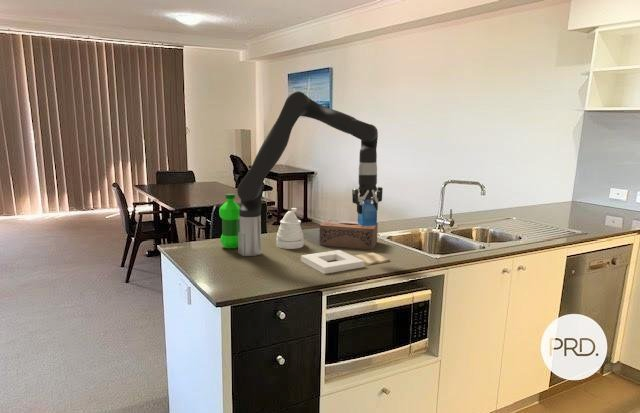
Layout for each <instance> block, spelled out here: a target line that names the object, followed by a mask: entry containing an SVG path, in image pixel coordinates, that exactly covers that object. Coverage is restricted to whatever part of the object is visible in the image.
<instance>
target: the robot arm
mask: <svg viewBox="0 0 640 413" xmlns="http://www.w3.org/2000/svg"><path fill="white" fill-rule="evenodd" d="M300 117H306V118H310V119H313V120H316V121H318V122H321V123H323V124H326V125H327V126H329V127H332V128H334V129H336V130H338V131H340V132H343V133H345V134H348V135H351V136H352V137H354V138H356V139H359V140H360V149H359V160H358V161H359V164H358V188H352V189H351V190H352V204H355V205H356V212H357V215H358V214H362V203H364V200H365V198H367V197H368V196H371V199H372V201H371V202H372V204H374V206H375V208H376V210H377V211H378V210H379V203H380V202H382V201H383V187H382V186H377V184H378V163H377V157H378V156H377V155H378V153H377V147H378V140H379V139H378V137H379V134H378V132H379V131H378V129H377V127H376V126H375V125H374V124H370V123H367V122H364V121H362V120H359V119H357V118H355V117H354V116H352V115H349V114H346V113H344V112H341V111H339V110H335V109H333V108H329V107H326V106H324V105H321V104H319V103H317V102H316V101H315V100H312V99H311V98H309V97H308V95H307V94H305V93H304V92H303V91H297V90H296V91H293V92H291V93H290V94H289V95H288V96H287V97H286V99H285V102H284V104H283V106H282V109H281V111H280V113H279V114H278V118H277V119H276V120H275V123H274V124H273V126H272V127H271V129H270V131H269V132H268V134H267V135H266V137H265V139H264V141H263V142H262V144H261V146H260V148H259V150H258V152H257V154H256V155H255V158H254V160H253V163H252V164H251V166H250V169H249V170H248V171H247V173H246V175H244V177H243V179H242V180H241V181H240V183H239V184H238V186H237V195H238V198H239V199H240V205H239V206H240V209H239V230H240V232H238V247H237V248H238V249H237V250H238V254H239V255H241V257H255V256H259V255H261V254H262V242H261V241H262V238H261V236H262V228H261V227H262V226H261V222H262V220H261V216H262V214H261V212H262V201H263V200H262V195H263V194H262V191H263V189H262V185H263V183H264V181H265V178H266V177H267V175H268V174H269V173H270V172H271V170H272V169H273V168H274V167H275V166H276V164H277V163H278V162H279V160H280V159H281V157H282V155H283V154H284V152H285V150H286V148H287V146H288V143H289V140H290V136H291V133H292V130H293V128H294V126H295V124H296V122H297V121H298V120H299V118H300Z"/></svg>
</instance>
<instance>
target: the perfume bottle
mask: <svg viewBox="0 0 640 413" xmlns="http://www.w3.org/2000/svg"><path fill="white" fill-rule="evenodd" d="M372 202H373V201H372V199H371V196H368V197H367V198H365V200H364V201H363V203H362V214H358V213H357V222H358V224H360V225H361V226H375V225H377V223H378V210H376V208H375V206H374V204H373V203H372Z"/></svg>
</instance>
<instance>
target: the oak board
mask: <svg viewBox="0 0 640 413" xmlns="http://www.w3.org/2000/svg"><path fill="white" fill-rule="evenodd" d="M353 256H354V257H356V258H359V259H361V260H363V261H364V265H366V266H369V265H376V264H382V263H387V262H391V259H390V258H388V257H386V256H383V255H381V254H378V253H375V252H368V253H361V254H356V255H355V254H354V255H353Z"/></svg>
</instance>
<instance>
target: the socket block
mask: <svg viewBox="0 0 640 413" xmlns="http://www.w3.org/2000/svg"><path fill="white" fill-rule="evenodd" d="M300 262H301V263H304V264H305V265H307V266H309V267H310V268H312V269H315V271H318V272H320V273H321V274H324V275H325V274H333V273H337V272H344V271H348V270H354V269H359V268H365V264H364V261H363V260H361V259H359V258H356V257H354V255H352V254H350V253H348V252H345V251H343V250H340V249H336V250H329V251H322V252H315V253H310V254H309V253H308V254H302V255H300Z"/></svg>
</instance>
